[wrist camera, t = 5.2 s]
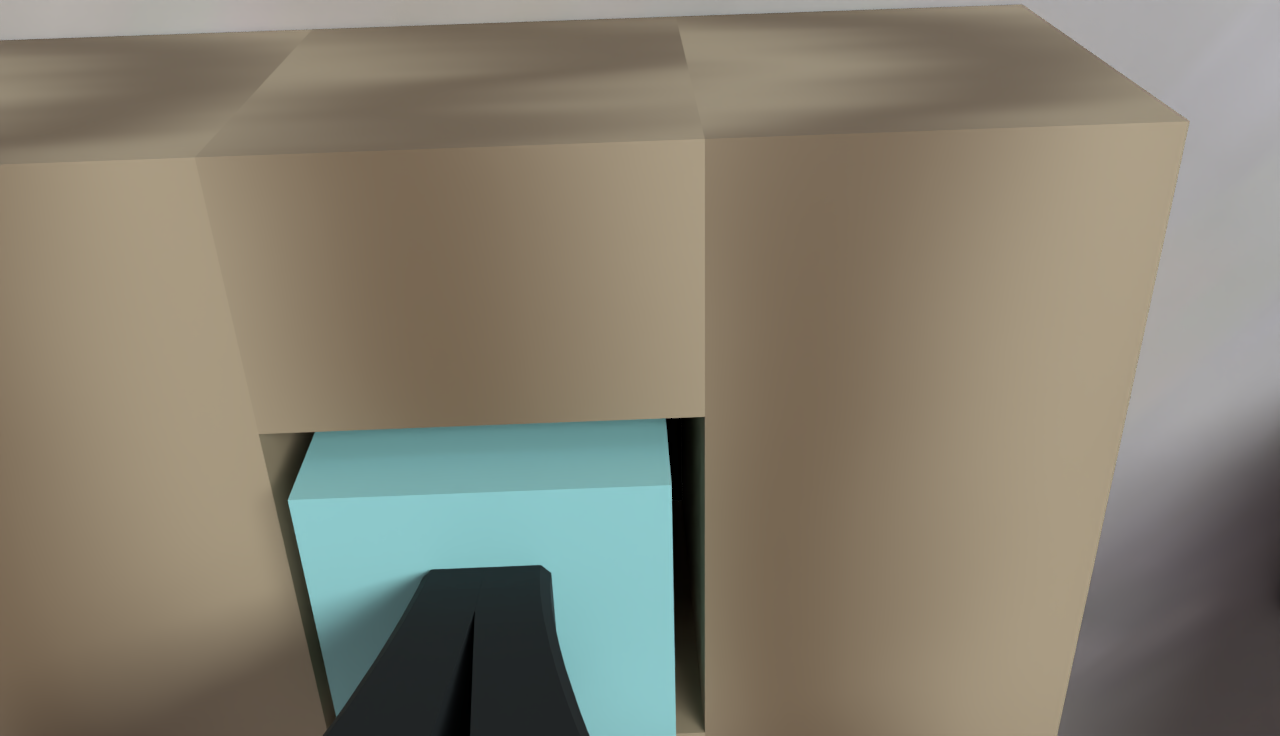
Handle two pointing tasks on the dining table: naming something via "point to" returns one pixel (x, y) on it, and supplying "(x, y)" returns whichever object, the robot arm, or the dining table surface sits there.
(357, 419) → the socket block
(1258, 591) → the dining table surface
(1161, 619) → the dining table surface
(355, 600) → the peg square
